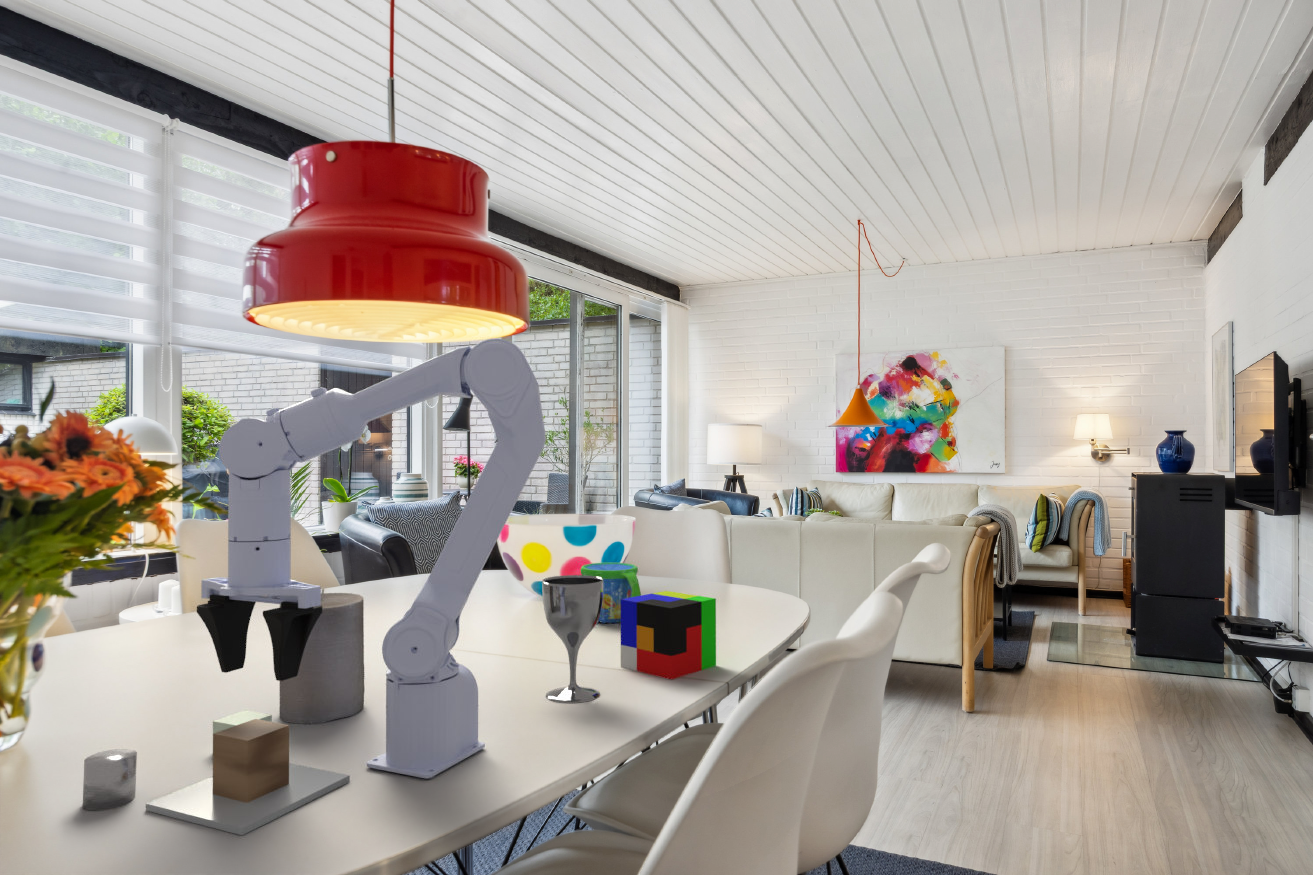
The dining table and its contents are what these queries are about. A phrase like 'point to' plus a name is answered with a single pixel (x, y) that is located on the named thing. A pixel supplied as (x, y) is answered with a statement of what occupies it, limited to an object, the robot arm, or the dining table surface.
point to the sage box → (239, 719)
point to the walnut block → (250, 760)
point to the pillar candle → (329, 665)
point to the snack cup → (614, 586)
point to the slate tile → (245, 817)
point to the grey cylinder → (109, 779)
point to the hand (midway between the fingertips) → (259, 673)
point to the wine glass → (572, 624)
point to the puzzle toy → (668, 633)
